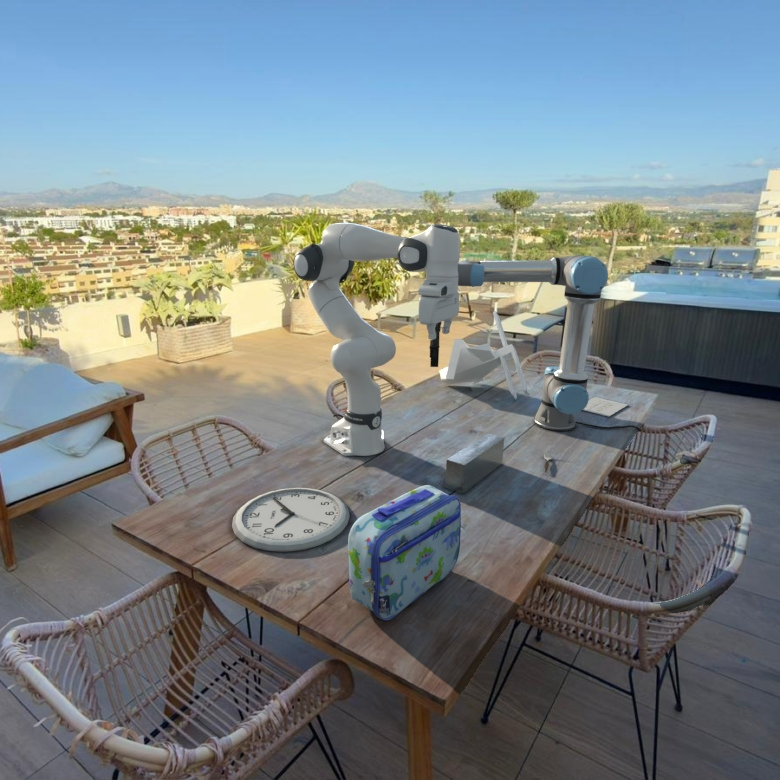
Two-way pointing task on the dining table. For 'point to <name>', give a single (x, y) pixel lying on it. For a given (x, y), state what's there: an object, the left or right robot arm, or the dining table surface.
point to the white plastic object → (482, 362)
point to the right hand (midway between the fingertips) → (433, 362)
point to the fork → (547, 459)
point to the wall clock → (290, 519)
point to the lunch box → (403, 549)
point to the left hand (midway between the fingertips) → (439, 336)
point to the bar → (474, 463)
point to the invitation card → (603, 406)
